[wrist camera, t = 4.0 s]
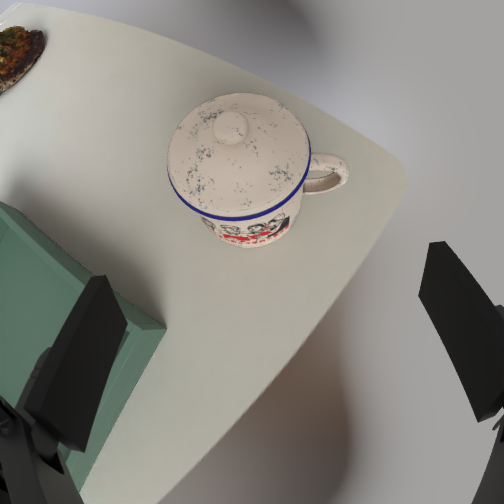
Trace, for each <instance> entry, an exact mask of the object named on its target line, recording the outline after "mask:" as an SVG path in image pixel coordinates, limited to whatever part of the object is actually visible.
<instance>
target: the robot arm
mask: <svg viewBox="0 0 504 504" xmlns="http://www.w3.org/2000/svg"><path fill="white" fill-rule="evenodd" d="M418 296H419V298H420V300H421V302H422V304H423V305H424V307H425V309H426V311H427V313H428V315H429V317H430V319H431V320H432V322H433V324H434V326H435V328H436V330H437V332H438V334H439V336H440V338H441V340H442V342H443V344H444V346H445V348H446V350H447V352H448V354H449V357H450V359H451V361H452V363H453V365H454V367H455V369H456V372H457V373H458V376H459V378H460V381H461V383H462V385H463V387H464V390H465V392H466V394H467V397H468V399H469V402H470V404H471V407H472V409H473V411H474V414H475V417H476V419H477V422H481V421H483V420H486V419H488V418H491V417H493V416H495V415H496V414H497V413H498V411H499V410H500V409H501V408H502V406H503V409H504V307H503V306H502V305H497V306H494V305H493V303H492V302H491V300H490V299H489V297H488V296H487V295H486V293H485V292H484V291H483V289H482V288H481V286H480V285H479V284H478V282H477V281H476V280H475V278H474V277H473V276H472V274H471V273H470V272H469V270H468V269H467V268H466V267H465V265H464V264H463V263H462V262H461V260H460V259H459V258H458V257H457V255H456V254H455V253H454V252H453V250H452V249H451V248H450V247H449V246H448V244H447V243H446V242H445V241H442V242H433V243H429V249H428V253H427V258H426V263H425V268H424V273H423V278H422V282H421V286H420V291H419V295H418ZM127 325H128V322H127V320H126V318H125V316H124V314H123V312H122V310H121V308H120V306H119V303H118V301H117V299H116V297H115V295H114V293H113V290H112V288H111V286H110V284H109V281H108V279H107V277H106V275H105V276H94V277H91V278H90V279H89V281H88V283H87V284H86V286H85V288H84V289H83V291H82V293H81V294H80V296H79V298H78V300H77V301H76V303H75V305H74V306H73V308H72V310H71V312H70V314H69V315H68V317H67V319H66V321H65V323H64V324H63V326H62V328H61V330H60V332H59V334H58V336H57V337H56V339H55V341H54V343H53V345H52V347H47V349H46V350H45V351H44V352H43V353H42V354H41V355H40V356H39V358H38V360H37V362H36V364H35V366H34V370H32V372H31V374H30V378H28V380H27V382H26V384H25V386H24V389H23V391H22V393H21V395H20V397H19V399H18V402H17V404H16V406H15V408H13V407H12V406H11V405H10V404H9V403H8V402H7V401H6V400H5V399H4V398H3V397H2V396H0V504H84V502H83V500H82V498H81V496H80V494H79V492H78V490H77V488H76V486H75V483H74V481H73V479H72V477H71V474H70V472H69V470H68V467H67V465H66V462H65V460H64V457H63V455H62V453H61V451H60V450H59V449H58V444H59V442H60V443H62V444H63V445H64V446H65V447H66V448H68V449H70V450H74V451H79V452H83V453H85V451H86V447H87V443H88V440H89V437H90V433H91V430H92V426H93V423H94V420H95V417H96V413H97V410H98V407H99V404H100V401H101V398H102V395H103V392H104V389H105V386H106V383H107V380H108V377H109V374H110V371H111V368H112V365H113V363H114V360H115V357H116V354H117V352H118V349H119V346H120V343H121V341H122V338H123V335H124V333H125V330H126V327H127ZM499 425H500V427H499V431H498V434H497V437H496V440H495V444H494V447H493V450H492V453H491V456H490V459H489V461H488V464H487V467H486V470H485V472H484V475H483V478H482V480H481V483H480V485H479V487H478V490H477V492H476V495H475V497H474V499H473V502H472V504H504V415H503V416H502V417H501V418H500V420H499V421H498V422H497V423H496V424H495V426H494V427H493V429H492V430H495V429H496V428H497V427H498V426H499Z"/></svg>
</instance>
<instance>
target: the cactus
mask: <svg viewBox="0 0 504 504" xmlns="http://www.w3.org/2000/svg"><path fill="white" fill-rule="evenodd" d="M43 42H44V36H43V33H42V32H41V31H39V30H32V31H30V32H28V30H27V31H25V30H24V27H23V28H22V27H20V26H16V27H15V25H14V27H9V28H6V29H5V30H3V32H0V93H1V92H3V91H5V90H6V89H8V88H9V87H10V86H12V85H13V84H14V83H16V82H17V80H19V79H20V78H21V76H22V75H23V74H24V73H25V72H26V71H27V70H28V69H29V68H30V67H31V65H32V64H33V63H34V62H35V58H37V57H40V54H39V53H41V52H42V49H43Z"/></svg>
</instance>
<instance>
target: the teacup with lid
mask: <svg viewBox="0 0 504 504" xmlns="http://www.w3.org/2000/svg"><path fill="white" fill-rule="evenodd" d="M167 171H168V176H169V180H170V182H171V185H172V187H173V189H174V191H175V192H176V194H177V195H178V197H179V198H180V199H181V200H182V201H183V202H184V203H185V204H186V205H187V206H188V207H190V208H191V209H192V210H194V211H195V212H196V213H197V214H198V216H199V217H200V218H201V219H202V221H203V222H204V223H205V224H206V226H207V227H208V228H209V229H210V231H211V232H212V233H213V234H214V235H215V236H217V237H218V238H219V239H221V240H222V241H224V242H226V243H228V244H231V245H234V246H238V247H246V248H252V247H260V246H264V245H267V244H270V243H272V242H274V241H276V240H277V239H279V238H280V237H282V236H283V235H284V234H285V233H286V232H287V231H288V230H289V229H290V228H291V227H292V225H293V224H294V222H295V220H296V218H297V216H298V214H299V211H300V206H301V199H302V194H319V193H325V192H329V191H332V190H334V189H337V188H338V187H340V186H342V185H343V184H344V183H345V182H346V181H347V179H348V176H349V169H348V164H347V162H346V161H345V160H344V159H342V158H341V157H339V156H336V155H333V154H328V153H311V147H310V141H309V138H308V135H307V132H306V130H305V128H304V126H303V125H302V123H301V122H300V120H299V119H298V117H297V116H296V115H295V114H294V113H293V112H292V111H291V110H290V109H289V108H287V107H286V106H285V105H283V104H282V103H280V102H278V101H276V100H274V99H272V98H269V97H267V96H263V95H259V94H253V93H232V94H226V95H222V96H219V97H216V98H213V99H211V100H208V101H206V102H204V103H202V104H201V105H199V106H198V107H196V108H195V109H194V110H192V111H191V112H190V113H189V114H188V115H187V116H186V117H185V118H184V119H183V120H182V121H181V122H180V124H179V125H178V127H177V128H176V130H175V132H174V134H173V136H172V138H171V141H170V144H169V147H168V152H167ZM308 171H329V172H333V173H332V174H330V175H327V176H325V177H320V178H311V179H305V178H306V176H307V173H308Z"/></svg>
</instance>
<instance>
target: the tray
mask: <svg viewBox="0 0 504 504" xmlns="http://www.w3.org/2000/svg"><path fill="white" fill-rule="evenodd" d="M91 277H94V275H93V274H92V273H91V272H89V271H88V270H87V269H86V268H84V267H83V266H82V265H81V264H79V263H78V262H77V261H76V260H74V259H73V258H72V257H71V256H70V255H68V254H67V253H66V252H65V251H64V250H62V249H61V248H60V247H59V246H58V245H57V244H55V243H54V242H53V241H52V240H51V239H50V238H48V237H47V236H46V235H45V234H44V233H43V232H42V231H41V230H39V229H38V228H37V227H36V226H35V225H34V224H33V223H32V222H31V221H29V220H28V219H27V218H26V217H25V216H24V215H23V214H22V213H21V212H20V211H19V210H17V209H15V208H13V207H11V206H9V205H7V204H5V203H3V202H1V201H0V396H2V397H3V398H4V399H5V400H6V401H7V402H8V403H9V404H10V405H11V406H12V407H13V408H15V406H16V404H17V402H18V399H19V397H20V395H21V393H22V391H23V389H24V386H25V384H26V382H27V380H28V378H30V374H31V372H32V370H34V366H35V364H36V362H37V360H38V358H39V356H40V355H41V354H42V353H43V352H44V351H45V350H46V349H47V347H52V345H53V343H54V341H55V339H56V337H57V336H58V334H59V332H60V330H61V328H62V326H63V324H64V323H65V321H66V319H67V317H68V315H69V314H70V312H71V310H72V308H73V306H74V305H75V303H76V301H77V300H78V298H79V296H80V294H81V293H82V291H83V289H84V288H85V286H86V284H87V283H88V281H89V279H90V278H91ZM113 293H114V295H115V297H116V299H117V301H118V303H119V306H120V308H121V310H122V312H123V314H124V316H125V318H126V320H127V322H128V325H127V327H126V330H125V333H124V335H123V338H122V341H121V343H120V346H119V349H118V352H117V354H116V357H115V360H114V363H113V365H112V368H111V371H110V374H109V377H108V380H107V383H106V386H105V389H104V392H103V395H102V398H101V401H100V404H99V407H98V410H97V413H96V417H95V420H94V423H93V426H92V430H91V433H90V437H89V440H88V443H87V447H86V451H85V453H83V452H79V451H74V450H70V449H68V448H66V447H65V446H64V445H63V444H62V443H60V442H59V444H58V449H59V450H60V451H61V453H62V455H63V457H64V460H65V462H66V465H67V467H68V470H69V472H70V474H71V477H72V479H73V481H74V483H75V486H76V488H77V490H78V492H80V490H81V488H82V486H83V484H84V482H85V480H86V478H87V476H88V474H89V472H90V470H91V468H92V466H93V464H94V462H95V460H96V458H97V456H98V454H99V453H100V451H101V449H102V447H103V445H104V443H105V441H106V439H107V437H108V435H109V433H110V432H111V430H112V428H113V426H114V424H115V422H116V420H117V418H118V417H119V415H120V413H121V411H122V409H123V407H124V405H125V404H126V402H127V400H128V398H129V396H130V394H131V393H132V391H133V389H134V387H135V385H136V383H137V382H138V380H139V378H140V376H141V374H142V373H143V371H144V369H145V367H146V365H147V364H148V362H149V360H150V358H151V357H152V355H153V353H154V351H155V349H156V348H157V346H158V344H159V342H160V341H161V339H162V337H163V335H164V334H165V332H166V330H167V328H165V327H164V326H162V325H161V324H159V323H158V322H157V321H155V320H154V319H152V318H151V317H149V316H148V315H147V314H145V313H144V312H142V311H141V310H140V309H138V308H137V307H135V306H134V305H133V304H131V303H130V302H129V301H127V300H126V299H124V298H123V297H122V296H120V295H119V294H118V293H116V292H115V291H114V290H113Z"/></svg>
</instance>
